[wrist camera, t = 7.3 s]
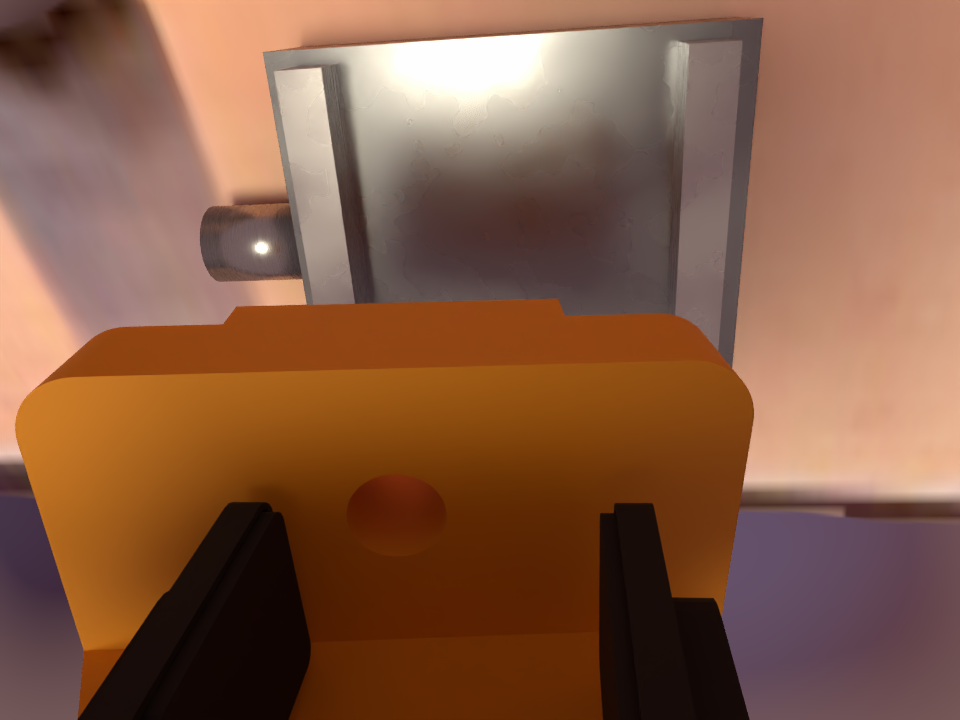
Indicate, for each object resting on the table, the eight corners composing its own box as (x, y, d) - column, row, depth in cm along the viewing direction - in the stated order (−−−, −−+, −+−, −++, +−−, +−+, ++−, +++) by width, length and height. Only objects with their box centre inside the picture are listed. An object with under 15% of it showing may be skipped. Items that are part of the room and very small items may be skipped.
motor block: (734, 17, 26) (780, 18, 21) (708, 370, 32) (739, 443, 27) (201, 53, 28) (117, 63, 23) (268, 377, 34) (214, 445, 29)
